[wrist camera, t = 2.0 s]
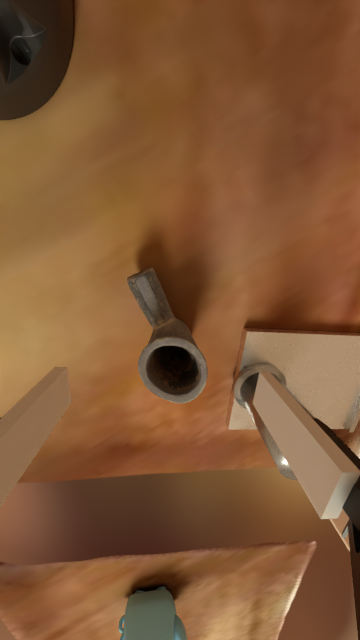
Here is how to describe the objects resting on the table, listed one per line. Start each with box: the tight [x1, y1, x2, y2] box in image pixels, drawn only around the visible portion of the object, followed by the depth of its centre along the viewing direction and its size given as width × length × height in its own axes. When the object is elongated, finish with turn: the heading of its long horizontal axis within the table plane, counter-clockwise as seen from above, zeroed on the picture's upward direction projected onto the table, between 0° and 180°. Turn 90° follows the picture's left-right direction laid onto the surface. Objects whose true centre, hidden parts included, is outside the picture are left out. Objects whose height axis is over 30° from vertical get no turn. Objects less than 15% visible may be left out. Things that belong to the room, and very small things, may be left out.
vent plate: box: [226, 328, 360, 480], centre depth 22 cm, size 16×21×11 cm
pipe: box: [127, 267, 208, 403], centre depth 20 cm, size 6×13×8 cm, turn 23°
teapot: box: [119, 587, 187, 640], centre depth 41 cm, size 12×18×12 cm
